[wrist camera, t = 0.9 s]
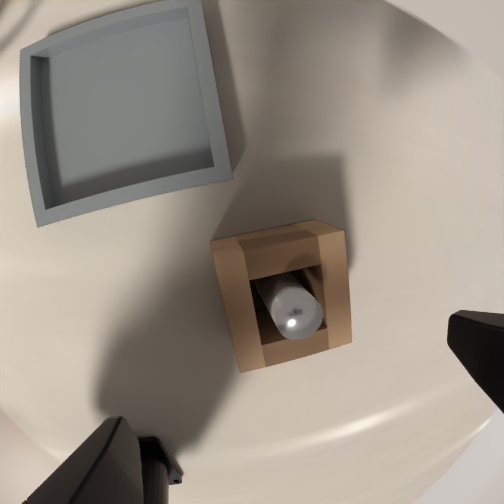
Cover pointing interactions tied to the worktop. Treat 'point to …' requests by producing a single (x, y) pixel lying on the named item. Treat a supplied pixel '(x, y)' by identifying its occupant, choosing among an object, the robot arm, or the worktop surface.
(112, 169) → the tray
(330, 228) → the brown square socket block
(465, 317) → the robot arm
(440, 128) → the worktop surface
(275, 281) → the post
